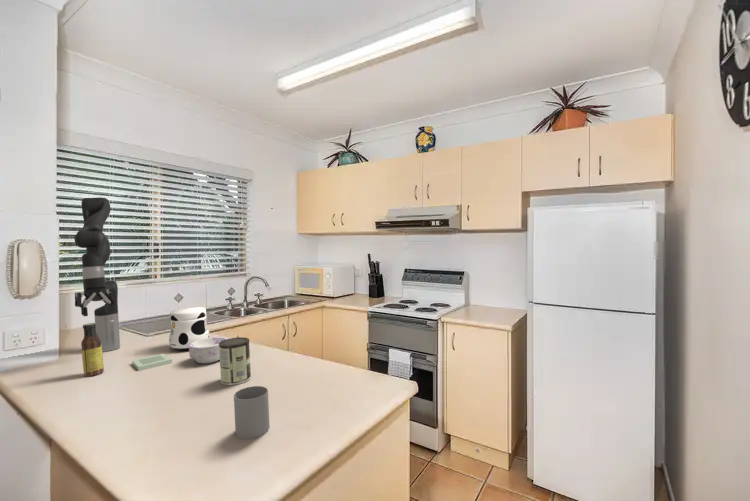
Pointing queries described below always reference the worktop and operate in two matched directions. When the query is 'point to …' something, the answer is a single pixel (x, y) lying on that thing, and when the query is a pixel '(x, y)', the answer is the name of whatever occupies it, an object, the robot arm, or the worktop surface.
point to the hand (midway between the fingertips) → (96, 314)
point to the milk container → (187, 327)
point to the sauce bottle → (91, 351)
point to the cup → (251, 412)
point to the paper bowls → (206, 350)
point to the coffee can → (235, 361)
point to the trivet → (151, 361)
